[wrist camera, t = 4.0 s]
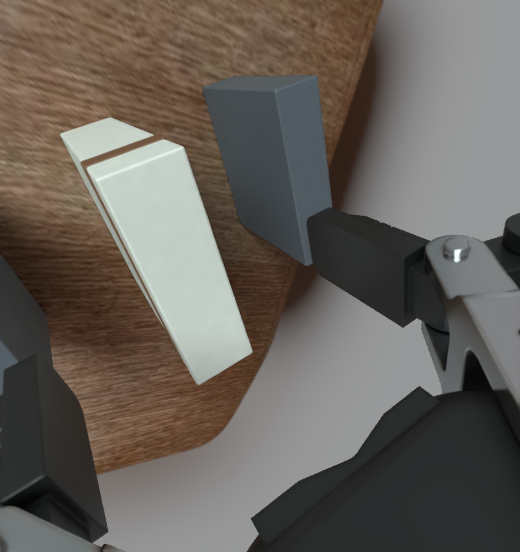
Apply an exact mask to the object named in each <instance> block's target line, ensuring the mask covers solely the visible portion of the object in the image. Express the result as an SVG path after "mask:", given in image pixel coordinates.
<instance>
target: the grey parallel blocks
mask: <svg viewBox="0 0 520 552" xmlns="http://www.w3.org/2000/svg"><path fill="white" fill-rule="evenodd" d="M203 92H204V96H205V99H206V103H207V106H208V110H209V113H210V117H211V120H212V124H213V127H214V131H215V135H216V138H217V142H218V145H219V149H220V152H221V156H222V159H223V163H224V167H225V170H226V174H227V177H228V181H229V184H230V188H231V191H232V195H233V198H234V202H235V206H236V209H237V213H238V216H239V220H240V223H241V224H242V225H243V226H245V227H246V228H248V229H249V230H251V231H252V232H254V233H255V234H257V235H259V236H260V237H262V238H263V239H265V240H266V241H268V242H269V243H271V244H273V245H274V246H276V247H277V248H279V249H280V250H282V251H283V252H285V253H286V254H288V255H290V256H291V257H293V258H294V259H296V260H297V261H299V262H300V263H302V264H304V265H305V266H308V265H310V264H312V263H313V262H312V257H311V251H310V245H309V238H308V232H307V225H306V222H307V219H308V218H309V217H310V216H312V215H314V214H316V213H318V212H320V211H322V210H324V209H326V208H328V207H331V208H332V200H331V191H330V184H329V174H328V165H327V157H326V148H325V140H324V131H323V122H322V114H321V105H320V97H319V88H318V79H317V76H316V75H300V76H240V77H232V78H229V79H226V80H222V81H219V82H216V83H213V84H210V85H207V86H204V87H203ZM36 353H40V354H42V355H43V356H44V357H45V358H46V359H47V361H48V362H49V363H50V364H51V366H52V367H53V362H52V354H51V346H50V338H49V330H48V322H47V315H46V314H45V313H44V311H43V310H42V309H41V307H40V306H39V305H38V303H37V302H36V301H35V299H34V298H33V297H32V295H31V294H30V293H29V291H28V290H27V289H26V287H25V286H24V284H23V283H22V282H21V280H20V279H19V278H18V276H17V275H16V274H15V272H14V271H13V270H12V268H11V267H10V266H9V264H8V263H7V262H6V260H5V259H4V258H3V256H2V255H1V254H0V395H2V394H3V373H4V370H5V369H6V368H8V367H10V366H12V365H14V364H16V363H18V362H20V361H22V360H24V359H26V358H28V357H30V356H32V355H34V354H36Z"/></svg>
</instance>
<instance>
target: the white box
mask: <svg viewBox="0 0 520 552" xmlns="http://www.w3.org/2000/svg"><path fill="white" fill-rule="evenodd" d="M60 136H61V138H62V140H63V142H64V144H65V146H66V148H67V149H68V151H69V153H70V155H71V157H72V159H73V161H74V163H75V165H76V167H77V169H78V171H79V173H80V175H81V176H82V178H83V180H84V182H85V184H86V186H87V188H88V190H89V192H90V194H91V196H92V198H93V200H94V202H95V203H96V205H97V207H98V209H99V211H100V213H101V215H102V217H103V219H104V221H105V223H106V225H107V227H108V229H109V230H110V232H111V234H112V236H113V238H114V240H115V242H116V244H117V246H118V248H119V250H120V252H121V254H122V255H123V257H124V259H125V261H126V263H127V265H128V267H129V269H130V271H131V273H132V275H133V276H134V278H135V280H136V282H137V283H138V285H139V287H140V288H141V290H142V292H143V293H144V295H145V297H146V299H147V300H148V302H149V304H150V305H151V307H152V309H153V310H154V312H155V314H156V316H157V317H158V319H159V321H160V322H161V324H162V326H163V327H164V329H165V331H166V333H167V335H168V337H169V339H170V341H171V342H172V344H173V346H174V348H175V350H176V352H177V354H178V356H179V357H180V359H181V361H184V363H185V365H186V366H187V368H188V370H189V372H190V373H191V375H192V377H193V378H194V380H195V382H196V383H197V384H198V385H200V384H202V383H204V382H205V381H207V380H208V379H210V378H212V377H213V376H215V375H217V374H218V373H220V372H222V371H223V370H225V369H226V368H228V367H230V366H231V365H233V364H235V363H236V362H238V361H240V360H241V359H243V358H244V357H246V356H248V355H249V354H251V353H252V348H251V345H250V342H249V339H248V336H247V333H246V330H245V327H244V324H243V321H242V318H241V315H240V312H239V309H238V306H237V303H236V300H235V297H234V294H233V291H232V288H231V285H230V282H229V279H228V276H227V273H226V270H225V268H224V265H223V262H222V259H221V256H220V253H219V250H218V247H217V244H216V241H215V238H214V235H213V232H212V229H211V226H210V223H209V220H208V217H207V214H206V211H205V208H204V205H203V202H202V199H201V196H200V193H199V190H198V187H197V184H196V181H195V178H194V175H193V172H192V169H191V166H190V163H189V160H188V157H187V154H186V151H185V148H184V147H183V146H180V145H178V144H175V143H173V142H170V141H168V140H167V138H166V137H165V136H162V135H160V134H156V135H153V134H150V133H148V132H145V131H143V130H140V129H138V128H135V127H133V126H130V125H128V124H126V123H123V122H121V121H118V120H116V119H113V118H110V117H109V118H106V119H103V120H100V121H97V122H94V123H91V124H88V125H85V126H82V127H79V128H76V129H73V130H70V131H67V132H63V133H61V134H60Z"/></svg>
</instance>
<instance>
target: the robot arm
mask: <svg viewBox="0 0 520 552" xmlns="http://www.w3.org/2000/svg"><path fill="white" fill-rule="evenodd" d="M306 225H307V232H308V238H309V245H310V251H311V257H312V262H313V264H314V267H315V269H316V270H317V272H318V273H319V274H320V275H321V276H322V277H324V278H325V279H327V280H328V281H330V282H332V283H333V284H335V285H336V286H338V287H340V288H341V289H343V290H344V291H346V292H347V293H349V294H350V295H352V296H354V297H355V298H357V299H358V300H360V301H362V302H363V303H365V304H366V305H368V306H370V307H371V308H373V309H374V310H376V311H377V312H379V313H381V314H382V315H384V316H385V317H387V318H389V319H390V320H392V321H393V322H395V323H396V324H398V325H400V326H401V327H403V328H404V327H405V326H406V325H408V324H409V323H411V322H412V321H414V320H415V319H416V318H418V319H420V320H421V321H422V328H421V329H422V332H423V335H424V338H425V341H426V344H427V346H428V349H429V352H430V355H431V358H432V360H433V363H434V366H435V369H436V371H437V374H438V377H439V380H440V383H441V388H442V394H441V395H437V396H434V397H433V396H432V395H431V394H429V393H428V392H427V391H425V390H424V389H422V388H421V387H420V386H419V387H417V388H416V389H415V390H414V391H412V392H411V393H410V394H409V395H407V396H406V397H405V398H403V399H402V400H401V401H400V402H398V403H397V404H396V405H395V406H393V407H392V408H391V409H390V410H388V411H387V412H386V413H384V414H383V416H382V417H381V419H380V420H379V422H378V423H377V425H376V426H375V427H374V429H373V430H372V432H371V433H370V435H369V436H368V438H367V439H366V441H365V442H364V443H363V445H362V446H361V448H360V449H359V451H358V452H357V454H356V455H355V456H354V457H352V458H351V459H349V460H347V461H345V462H342V463H340V464H337V465H335V466H333V467H330V468H328V469H326V470H323V471H321V472H319V473H316V474H314V475H312V476H310V477H307V478H305V479H302V480H300V481H298V482H297V483H296V484H294V485H293V486H292V487H290V488H289V489H288V490H287V491H285V492H284V493H283V494H282V495H280V496H279V497H278V498H276V499H275V500H274V501H273V502H271V503H270V504H269V505H268V506H266V507H265V508H264V509H262V510H261V511H260V512H259V513H257V514H256V515H255V516H254V517H252V518H251V520H252V522H253V524H254V526H255V527H256V529H257V531H258V533H259V535H258V536H257V537H256V539H255V540H254V542H253V543H252V544H251V546H250V547H249V549H248V551H247V552H520V213H519V214H515V215H513V216H511V217H509V218H508V219H507V220H506V223H505V227H504V233H503V236H500V237H497V238H494V239H491V240H487V241H484V242H482V241H480V240H478V239H475V238H473V237H469V236H463V235H447V236H442V237H438V238H436V239H434V240H432V241H429V240H426V239H424V238H421V237H419V236H416V235H414V234H410V233H408V232H406V231H403V230H400V229H398V228H395V227H392V228H391V226H390V225H387V224H385V223H380V222H379V221H377V220H374V219H372V218H369V217H367V216H360V215H350V214H347V213H344V212H342V211H339V210H336V209H334V208H331V207H328V208H326V209H324V210H322V211H320V212H318V213H316V214H314V215H312V216H310V217H309V218H308V219H307V222H306ZM107 532H108V528H107V523H106V518H105V514H104V509H103V504H102V500H101V494H100V490H99V485H98V480H97V476H96V471H95V466H94V461H93V457H92V452H91V447H90V443H89V438H88V433H87V428H86V424H85V419H84V414H83V411H82V408H81V406H80V404H79V402H78V400H77V398H76V396H75V395H74V393H73V392H72V390H71V389H70V388H69V387H68V385H67V384H66V383H65V382H64V381H63V379H62V378H61V377H60V376H59V374H58V373H57V372H56V371H55V369H54V368H53V367H52V366H51V364H50V363H49V362H48V361H47V359H46V358H45V357H44V356H43V355H42V354H40V353H36V354H34V355H32V356H30V357H28V358H26V359H24V360H22V361H20V362H18V363H16V364H14V365H12V366H10V367H8V368H6V369H5V370H4V373H3V394H2V395H0V552H125V551H123V550H121V549H118V548H116V547H114V546H111V545H107V544H104V545H103V546H102V547H100V546H97V545H95V544H93V542H95V541H96V540H97V539H99V538H100V537H102V536H103V535H104V534H106V533H107Z"/></svg>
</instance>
